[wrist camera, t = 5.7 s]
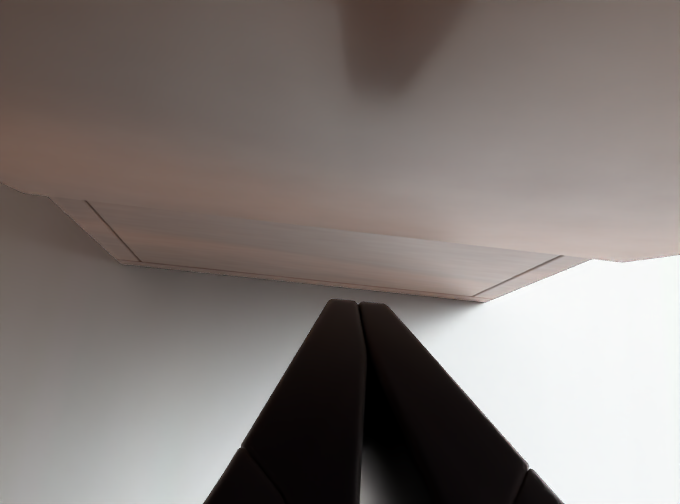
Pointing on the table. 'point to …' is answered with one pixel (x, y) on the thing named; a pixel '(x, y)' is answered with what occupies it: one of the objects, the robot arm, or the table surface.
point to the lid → (358, 115)
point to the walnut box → (309, 253)
